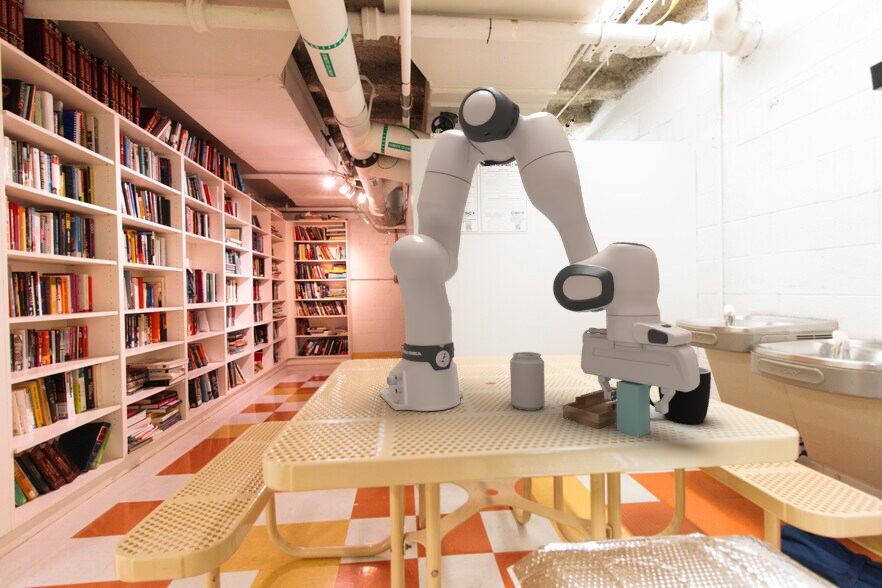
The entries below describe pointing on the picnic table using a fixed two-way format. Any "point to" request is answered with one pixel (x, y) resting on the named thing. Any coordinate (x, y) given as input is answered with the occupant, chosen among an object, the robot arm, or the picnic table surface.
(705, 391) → the mug
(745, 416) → the picnic table surface
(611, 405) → the brown wooden tray
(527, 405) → the can
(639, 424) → the block
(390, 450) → the picnic table surface
